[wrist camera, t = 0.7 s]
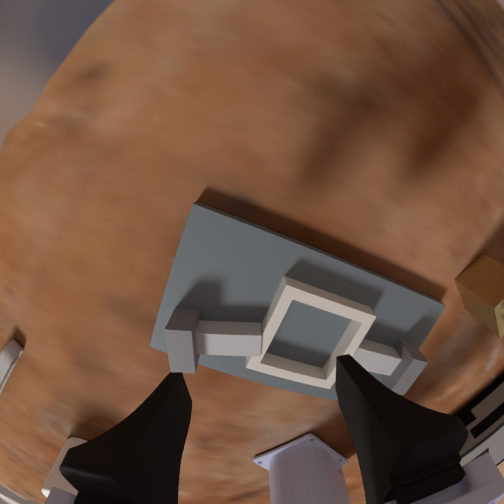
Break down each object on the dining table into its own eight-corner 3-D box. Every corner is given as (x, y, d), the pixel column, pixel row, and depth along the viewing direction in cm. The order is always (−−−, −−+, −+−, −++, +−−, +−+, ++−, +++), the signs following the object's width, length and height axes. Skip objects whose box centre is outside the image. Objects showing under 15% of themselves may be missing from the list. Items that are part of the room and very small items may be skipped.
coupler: (490, 283, 22) (531, 311, 16) (464, 308, 23) (503, 342, 17) (481, 252, 21) (528, 278, 15) (454, 279, 22) (498, 311, 16)
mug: (110, 523, 20) (70, 518, 22) (128, 466, 30) (88, 473, 32) (54, 489, 18) (25, 488, 20) (82, 432, 28) (49, 443, 30)
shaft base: (438, 299, 22) (463, 321, 18) (372, 399, 26) (385, 427, 22) (196, 201, 20) (182, 211, 16) (153, 338, 23) (138, 368, 19)
